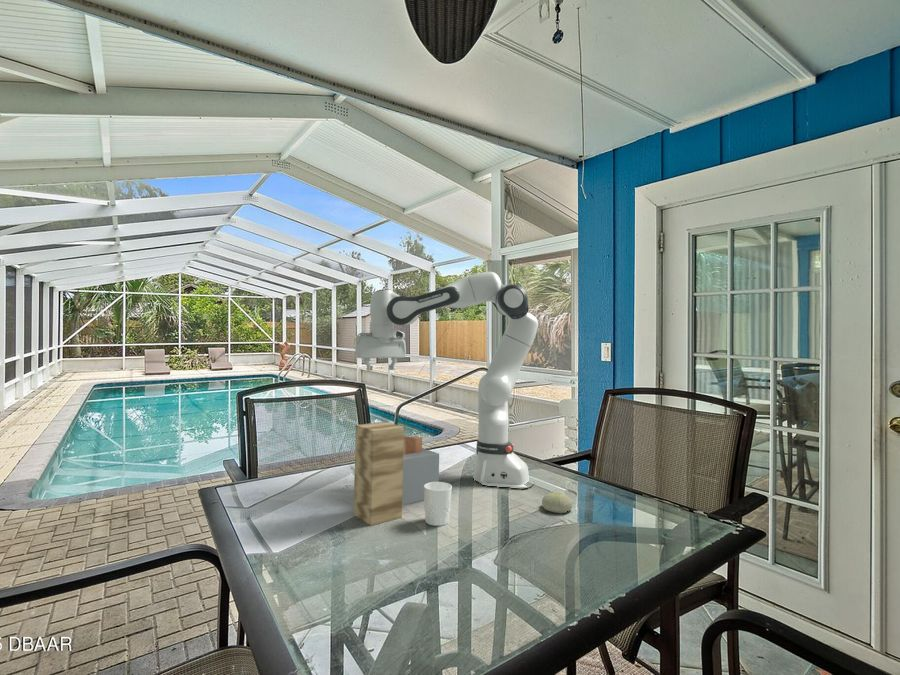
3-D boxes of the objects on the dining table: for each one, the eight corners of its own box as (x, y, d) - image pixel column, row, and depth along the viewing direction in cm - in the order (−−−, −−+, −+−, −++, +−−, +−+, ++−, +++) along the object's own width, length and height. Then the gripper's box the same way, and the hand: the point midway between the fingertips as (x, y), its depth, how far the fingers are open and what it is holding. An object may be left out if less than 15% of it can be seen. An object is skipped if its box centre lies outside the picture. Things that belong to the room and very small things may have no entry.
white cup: (448, 528, 129) (448, 491, 129) (420, 525, 131) (420, 489, 131) (453, 517, 137) (454, 483, 137) (427, 515, 138) (427, 480, 138)
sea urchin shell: (537, 505, 143) (542, 482, 148) (542, 518, 148) (547, 495, 153) (567, 511, 139) (572, 487, 144) (571, 524, 143) (576, 500, 148)
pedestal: (401, 517, 136) (403, 426, 136) (371, 525, 130) (373, 430, 130) (383, 507, 144) (385, 421, 144) (353, 514, 137) (355, 424, 137)
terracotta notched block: (421, 451, 157) (422, 437, 157) (398, 455, 151) (399, 441, 151) (395, 442, 169) (395, 429, 169) (373, 445, 163) (373, 432, 163)
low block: (438, 496, 154) (439, 453, 154) (399, 506, 145) (400, 460, 145) (407, 482, 168) (407, 443, 168) (369, 490, 159) (370, 448, 159)
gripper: (360, 332, 168) (359, 371, 168) (408, 333, 181) (407, 370, 181) (352, 332, 173) (351, 370, 173) (399, 333, 186) (398, 368, 186)
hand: (380, 370), depth 177 cm, fingers open, 8 cm apart
